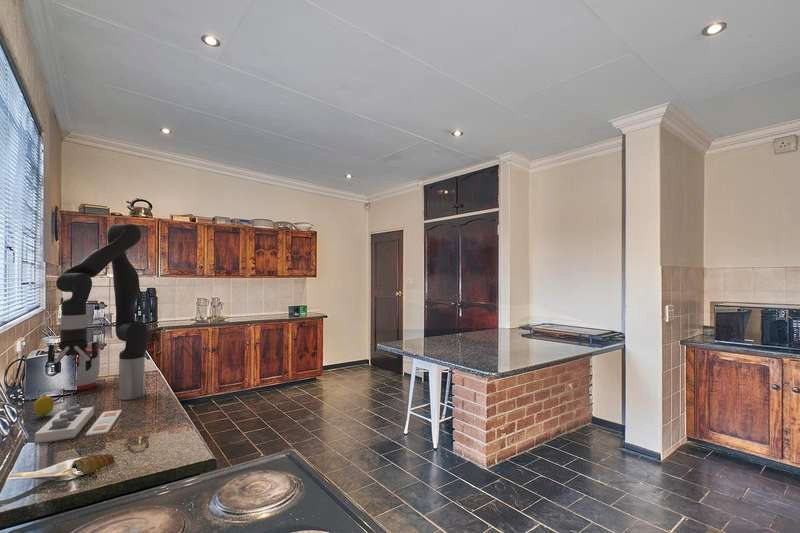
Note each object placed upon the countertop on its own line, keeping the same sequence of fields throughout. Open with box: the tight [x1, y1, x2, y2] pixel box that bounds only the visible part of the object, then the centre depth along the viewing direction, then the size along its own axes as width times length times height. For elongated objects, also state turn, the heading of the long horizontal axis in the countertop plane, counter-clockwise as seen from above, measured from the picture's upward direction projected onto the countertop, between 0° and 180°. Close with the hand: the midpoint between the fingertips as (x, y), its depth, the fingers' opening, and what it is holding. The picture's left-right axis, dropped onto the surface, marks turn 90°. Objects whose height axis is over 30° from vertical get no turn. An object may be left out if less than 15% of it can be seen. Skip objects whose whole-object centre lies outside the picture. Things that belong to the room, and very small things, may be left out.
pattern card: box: [85, 409, 123, 437], centre depth 143 cm, size 6×23×1 cm, turn 25°
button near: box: [52, 418, 68, 430], centre depth 132 cm, size 4×4×3 cm
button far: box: [66, 404, 82, 414], centre depth 145 cm, size 4×4×3 cm
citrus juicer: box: [76, 348, 101, 391], centre depth 184 cm, size 16×17×20 cm
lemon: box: [33, 395, 55, 418], centre depth 149 cm, size 6×6×8 cm
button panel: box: [34, 406, 95, 444], centre depth 138 cm, size 10×23×3 cm, turn 25°
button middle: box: [60, 411, 75, 421], centre depth 138 cm, size 4×4×3 cm
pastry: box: [70, 453, 115, 475], centre depth 110 cm, size 9×7×4 cm
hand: (73, 371), depth 145 cm, fingers open, 8 cm apart
